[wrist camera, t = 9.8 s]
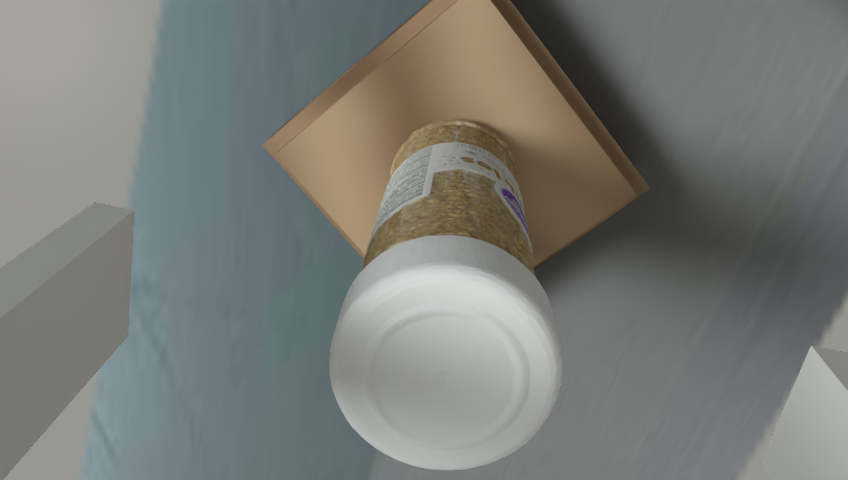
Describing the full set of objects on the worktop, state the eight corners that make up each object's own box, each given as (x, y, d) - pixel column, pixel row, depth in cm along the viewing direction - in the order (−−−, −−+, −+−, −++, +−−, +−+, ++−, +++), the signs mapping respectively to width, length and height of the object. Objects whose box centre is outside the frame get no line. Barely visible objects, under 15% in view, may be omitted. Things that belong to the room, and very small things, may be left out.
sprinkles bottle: (545, 180, 27) (617, 386, 15) (451, 264, 28) (442, 519, 16) (454, 86, 26) (446, 220, 14) (360, 177, 27) (275, 376, 15)
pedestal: (479, -41, 28) (481, -40, 25) (634, 166, 31) (657, 196, 27) (281, 127, 31) (255, 151, 27) (437, 306, 33) (434, 351, 30)
